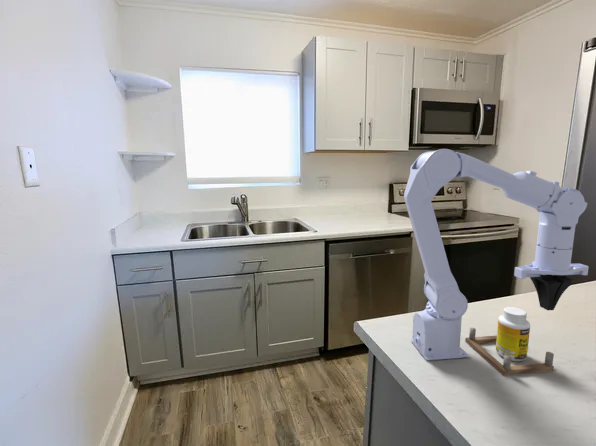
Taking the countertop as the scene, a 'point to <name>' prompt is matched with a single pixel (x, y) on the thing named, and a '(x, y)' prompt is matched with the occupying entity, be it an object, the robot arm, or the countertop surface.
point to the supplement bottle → (513, 334)
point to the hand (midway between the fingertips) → (546, 308)
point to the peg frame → (506, 357)
